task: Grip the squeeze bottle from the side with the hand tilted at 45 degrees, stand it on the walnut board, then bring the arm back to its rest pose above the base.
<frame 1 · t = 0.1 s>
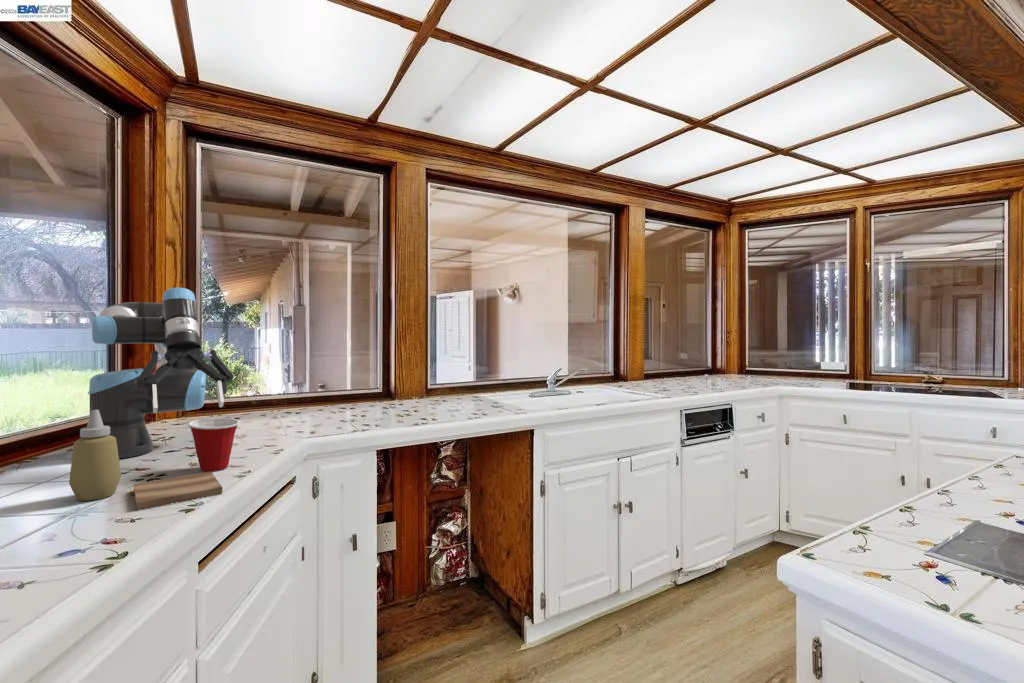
hand: (189, 407, 115), 15 cm above the worktop, tool tilted 35°, fingers open, 13 cm apart
squeeze bottle: (96, 497, 95), on the worktop
plastic cup: (215, 469, 115), on the worktop
walnut board: (177, 492, 98), on the worktop
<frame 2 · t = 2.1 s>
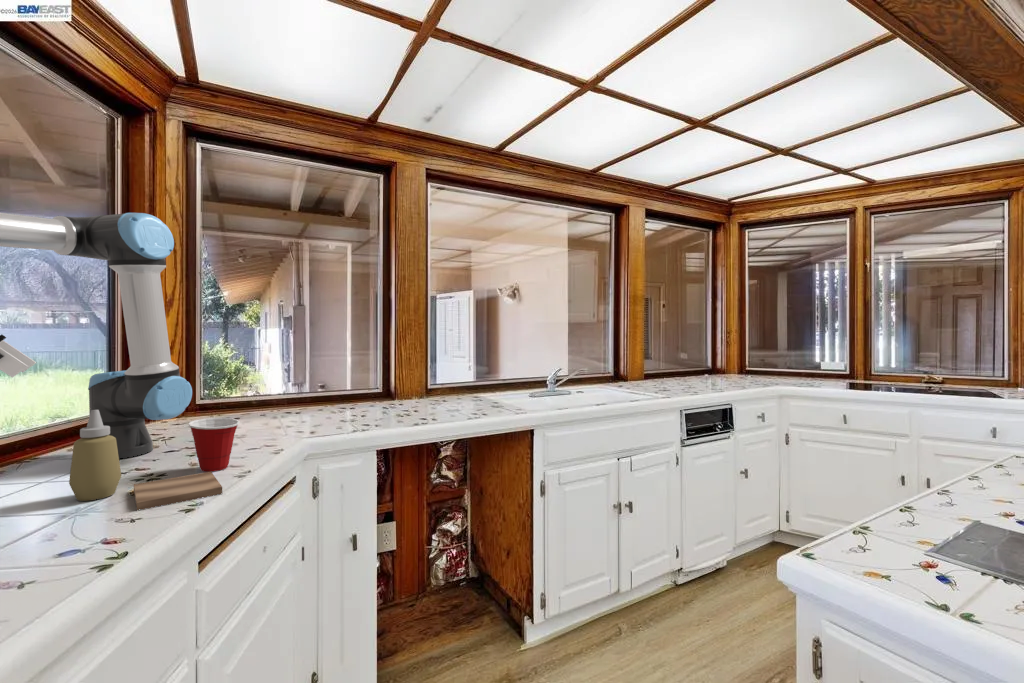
hand: (25, 369, 88), 27 cm above the worktop, tool tilted 45°, fingers open, 13 cm apart
nothing on the worktop moved.
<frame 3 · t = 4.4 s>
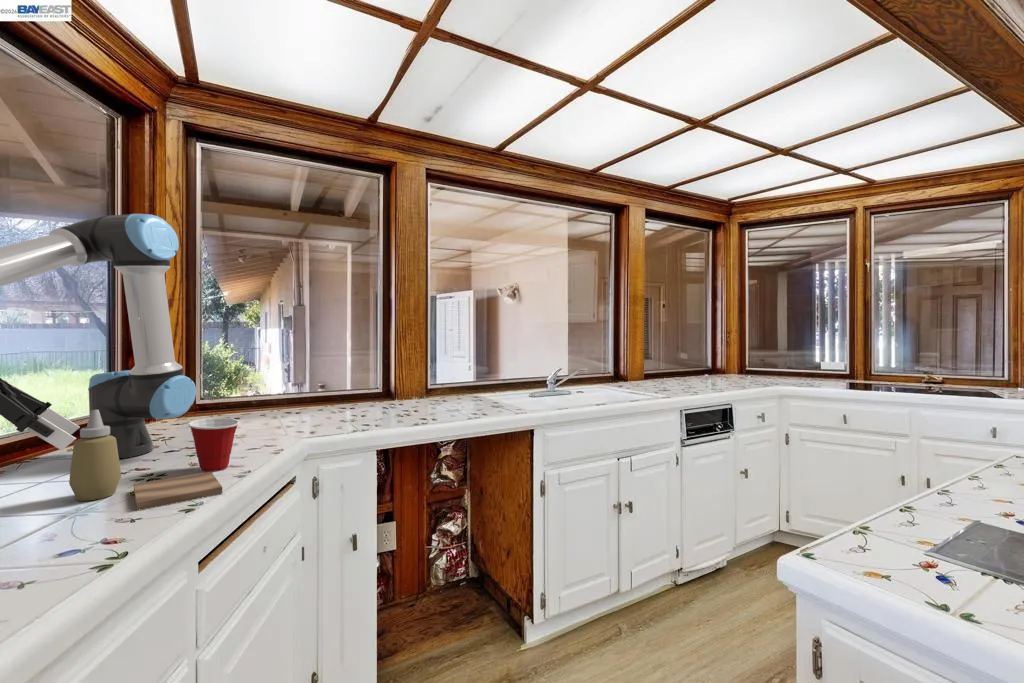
hand: (71, 438, 92), 13 cm above the worktop, tool tilted 45°, fingers open, 13 cm apart
nothing on the worktop moved.
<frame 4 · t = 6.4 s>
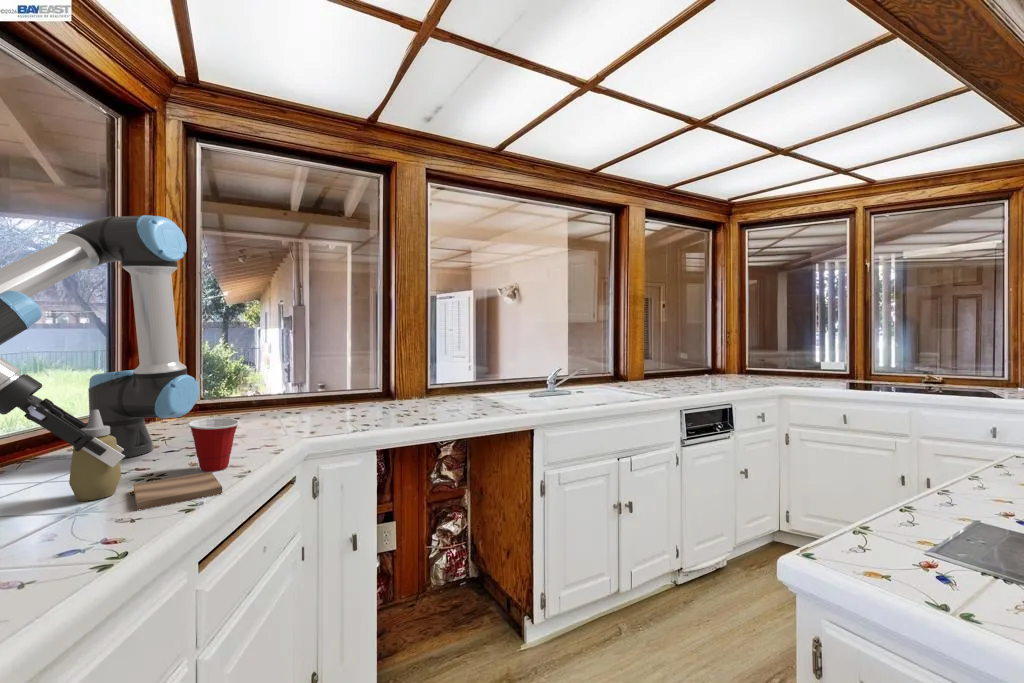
hand: (118, 457, 97), 7 cm above the worktop, tool tilted 45°, fingers closed on squeeze bottle, 6 cm apart
squeeze bottle: (96, 497, 95), on the worktop, touching gripper
everything else where it was.
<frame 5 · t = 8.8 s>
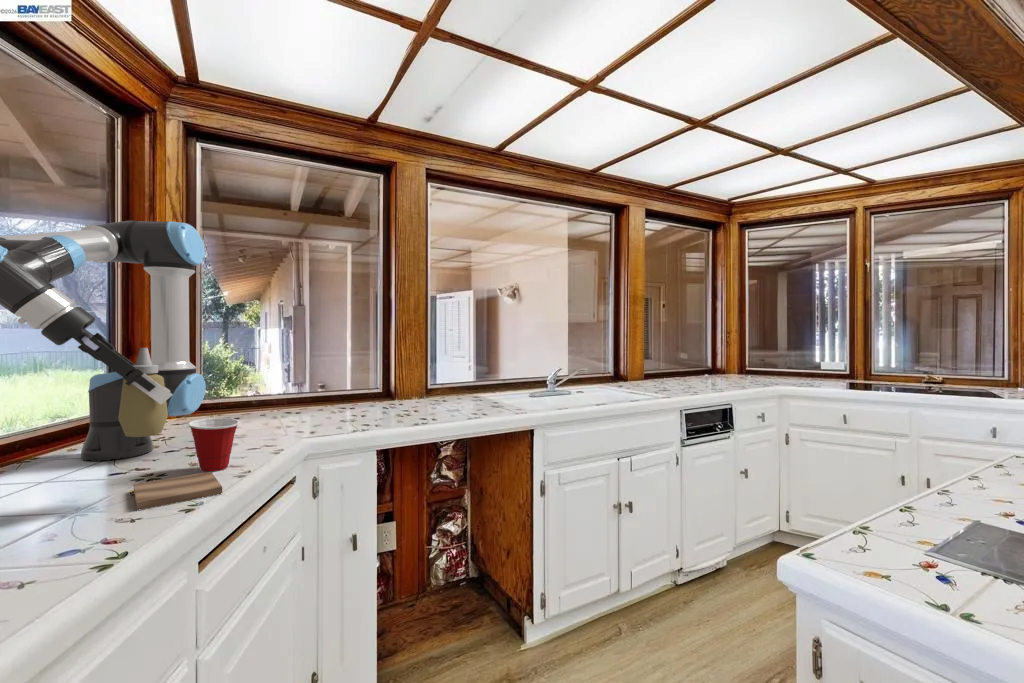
hand: (165, 397, 97), 20 cm above the worktop, tool tilted 45°, fingers closed on squeeze bottle, 6 cm apart
squeeze bottle: (143, 435, 95), point 13 cm above the worktop, touching gripper
everything else where it was.
when the fingers open (10 cm above the worktop, at t = 11.4 s): squeeze bottle drops 1 cm, resting on walnut board.
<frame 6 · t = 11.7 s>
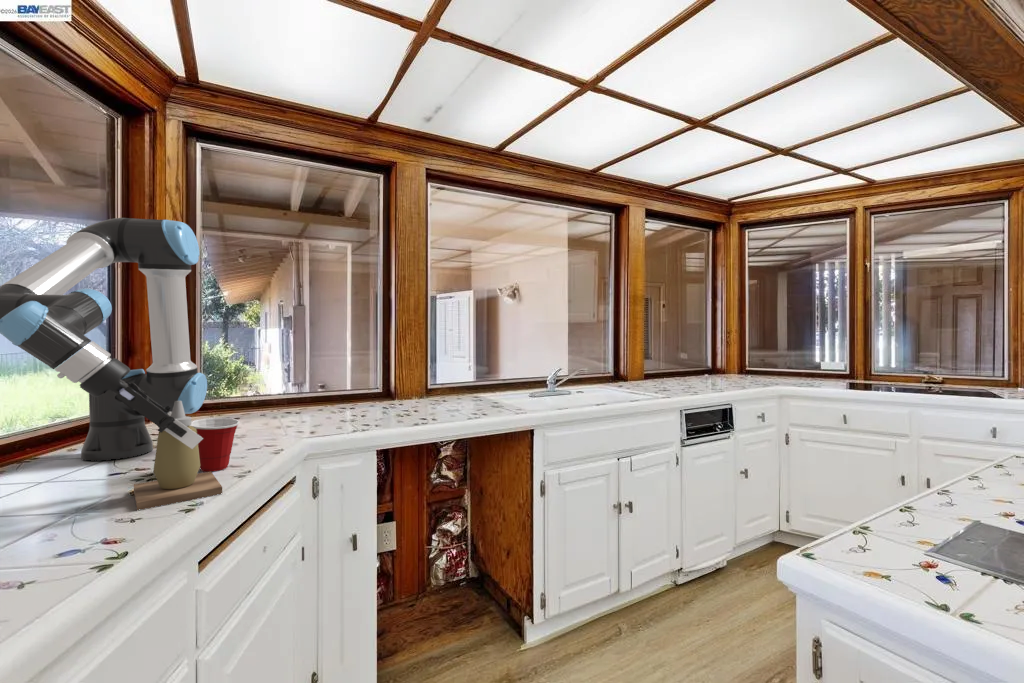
hand: (193, 438, 99), 11 cm above the worktop, tool tilted 45°, fingers open, 10 cm apart
squeeze bottle: (177, 486, 98), point 1 cm above the worktop, touching walnut board
everything else where it was.
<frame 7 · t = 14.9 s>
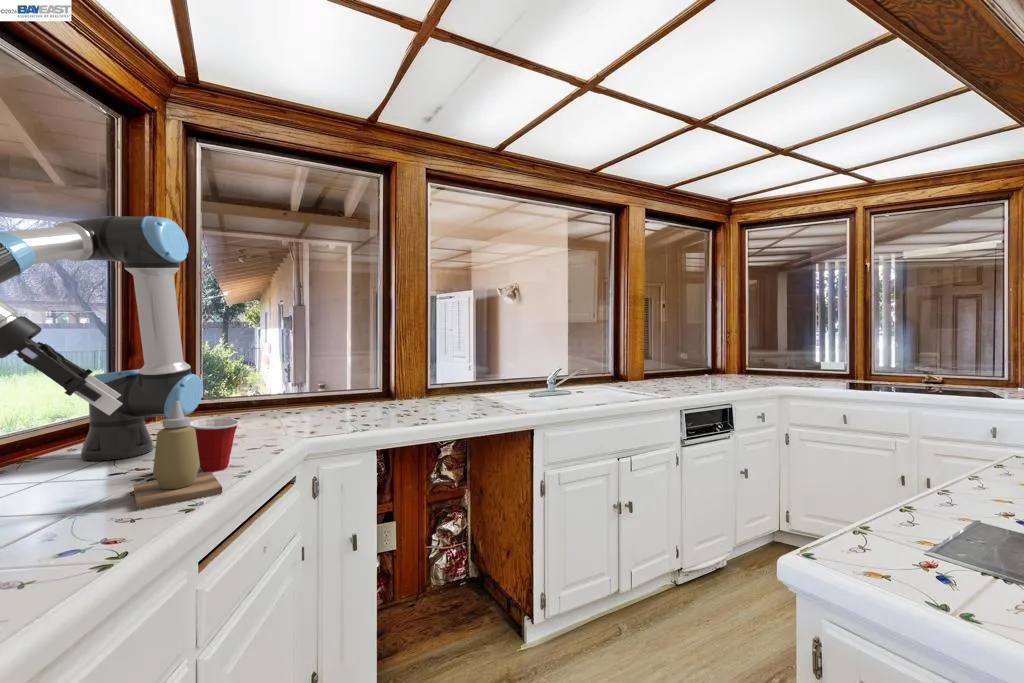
hand: (115, 404, 91), 20 cm above the worktop, tool tilted 45°, fingers open, 13 cm apart
nothing on the worktop moved.
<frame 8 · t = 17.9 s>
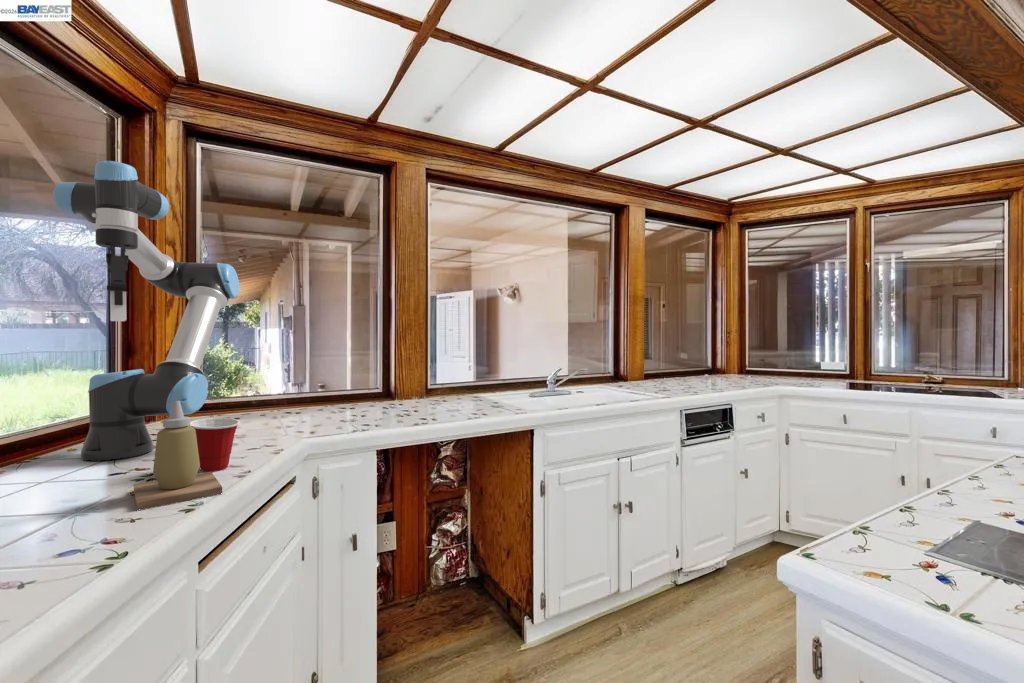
hand: (118, 320, 108), 37 cm above the worktop, tool pointing down, fingers open, 13 cm apart
nothing on the worktop moved.
at the end: squeeze bottle inside the target area on the walnut board (0.1 cm from its centre), point 1.3 cm above the walnut board's base; squeeze bottle tilted 0°; the gripper is holding nothing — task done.
